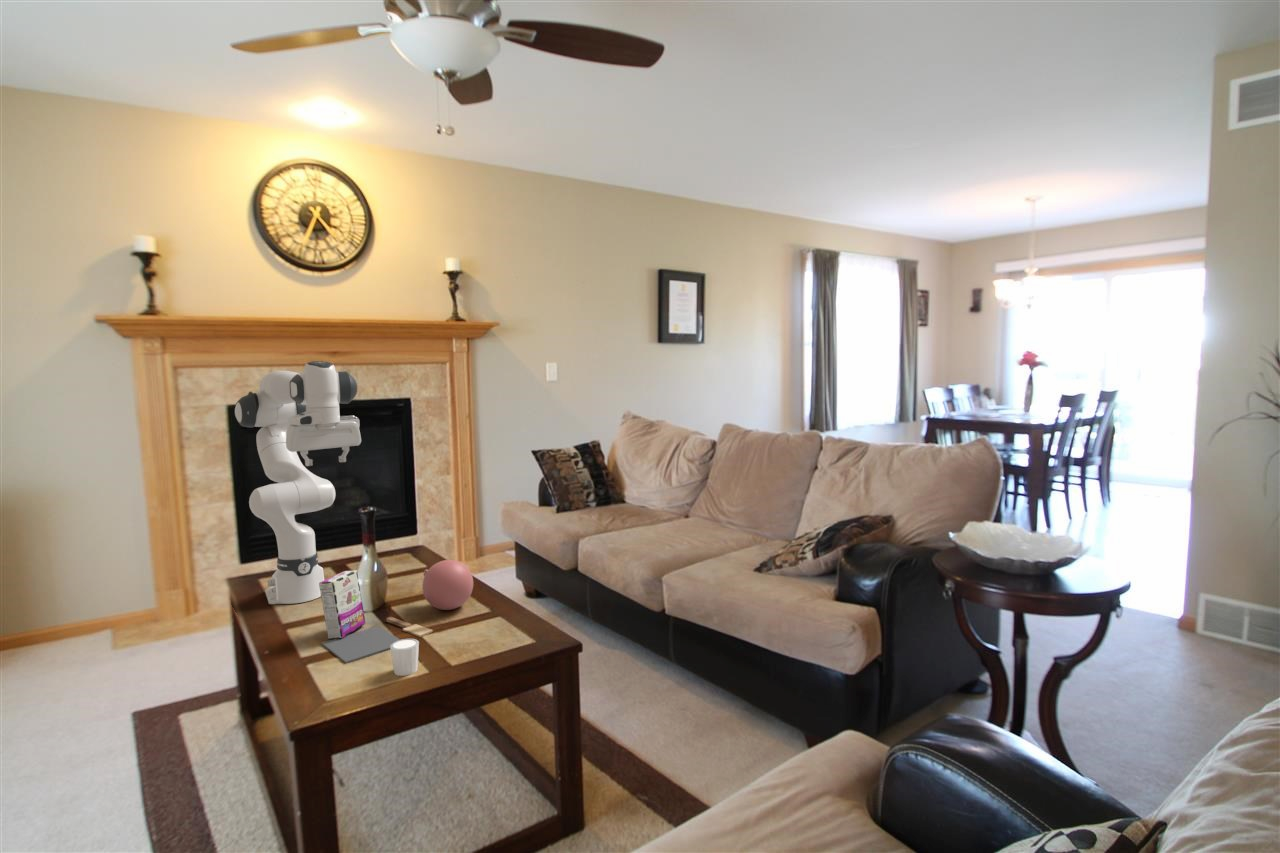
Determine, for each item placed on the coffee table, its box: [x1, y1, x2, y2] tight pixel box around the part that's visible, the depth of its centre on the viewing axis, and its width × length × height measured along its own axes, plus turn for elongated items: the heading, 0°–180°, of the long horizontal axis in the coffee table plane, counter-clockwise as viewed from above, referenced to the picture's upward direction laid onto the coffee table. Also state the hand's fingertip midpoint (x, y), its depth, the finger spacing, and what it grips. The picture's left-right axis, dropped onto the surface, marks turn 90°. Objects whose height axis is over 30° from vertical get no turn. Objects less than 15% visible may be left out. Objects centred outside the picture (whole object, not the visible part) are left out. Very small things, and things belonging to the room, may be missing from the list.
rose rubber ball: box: [421, 559, 474, 611], centre depth 209 cm, size 15×20×15 cm
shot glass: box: [390, 638, 420, 677], centre depth 166 cm, size 7×7×7 cm
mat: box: [321, 625, 401, 664], centre depth 182 cm, size 17×16×1 cm
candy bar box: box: [319, 569, 366, 640], centre depth 190 cm, size 11×5×16 cm, turn 169°
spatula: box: [385, 616, 434, 638], centre depth 193 cm, size 18×4×1 cm, turn 55°
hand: (326, 463), depth 194 cm, fingers open, 8 cm apart
